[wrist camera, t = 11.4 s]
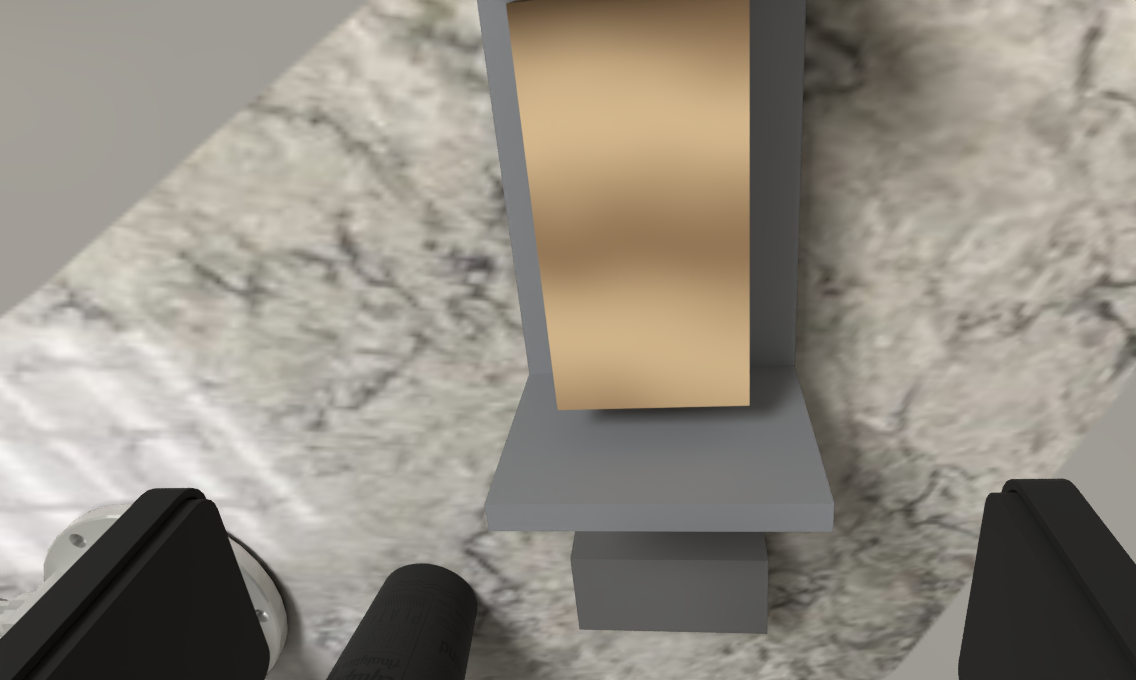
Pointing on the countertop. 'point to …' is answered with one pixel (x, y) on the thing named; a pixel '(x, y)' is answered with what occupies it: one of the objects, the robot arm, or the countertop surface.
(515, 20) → the shelf board
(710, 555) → the block
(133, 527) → the robot arm
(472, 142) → the countertop surface
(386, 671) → the drinking cup
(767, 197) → the cabinet stand
